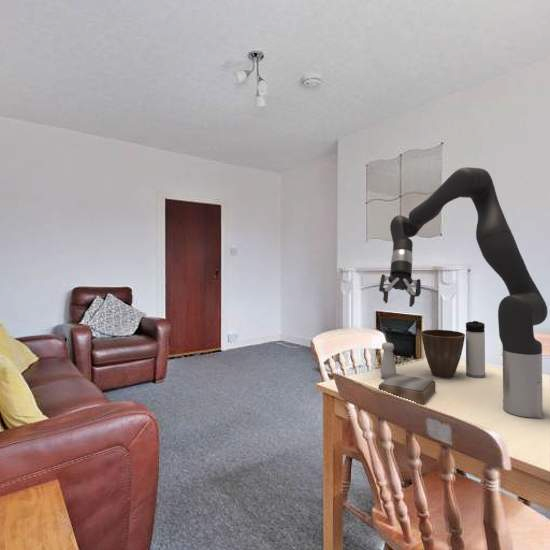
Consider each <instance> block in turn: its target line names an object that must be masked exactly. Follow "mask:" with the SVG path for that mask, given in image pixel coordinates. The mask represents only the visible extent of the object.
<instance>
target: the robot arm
mask: <svg viewBox="0 0 550 550" xmlns="http://www.w3.org/2000/svg"><path fill="white" fill-rule="evenodd" d="M459 198H465V199H466V198H468V199H469V198H470V199H471V201H472V203H473V205H474V207H475V210H476V212H477V222H476V223H477V224H476V230H475V238H476V242H477V244H478V248H479V250H480V252H481V255H482V256H483V259H484V260H485V262H486V264H488V265H489V266H490V268H491V269H492V270H493V271H494V272H495V273H496V274H497V275H498V276H499V277H500V279H501V280H502V281H503V282H504V284H505V286H506V288H507V291H508V293H509V295H507V296H505V297H503V298H502V299H501V301H500V302H499V304H498V309H497V319H498V320H497V321H498V335H499V339H500V341H501V345H502V409H503V410H504V411H505V412H507V413H508V414H511V415H514V416H519V417H522V418H524V417H525V418H538V419H543V412H544V411H543V410H544V409H543V344H542V342H541V341H539V340H537V338H535V334H534V327H535V326H537V325H541V324H542V323H544V322H545V320H546V319H547V317H548V305H547V303H546V301H545V299H544V297H543V296H542V294H541V292H540V290H539V289H538V287H537V285H536V284H535V281H534V280H533V279H532V276H531V275H530V273H529V271H528V267H527V266H526V263H525V261H524V258H523V256H522V254H521V252H520V250H519V247H518V244H517V242H516V239H515V237H514V234H513V232H512V230H511V229H510V226H509V224H508V222H507V220H506V219H507V218H506V216H505V213H504V212H503V210H502V207H501V204H500V201H499V199H498V195H497V192H496V188H495V185H494V180H493V178H492V176H491V174H490V172H488V171H487V170H486V169H484V168H480V167H461V168H458V169H456V170H455V171H454V172H453V173H452V174H451V175H450V176H449V177H448V178H447V179H445V181H444V182H443V183H442V184H441V185H440V186H439V187H438V188H437V189H436V190H435V191H434V192H433V193H432V194H431V195H430V196H429V197H428V198H427V199H425V200H423V202H421V203H419V204H418V205H417V206H416V207H414V208H413V209H411V211H410V212H409V213H408V217H406V216H404V215H401V214H400V215H396V216H394V217H393V218H392V219H391V222H390V225H389V226H390V227H389V230H390V235H391V239H392V243H393V246H392V253H391V254H392V255H391V260H390V270H389V271H390V272H389V276H387V275H385V274H381V276H380V282H379V286H378V287H379V288H378V291H379V292H380V293H381V292H382V293H383V298H382V301H383V302H384V303H385V304H388V299H389V292H390V291H391V290H392V289H394V290H401V291H405V293H407V294H408V295H409V304H408V305H409V307H410V308H411V307H413V306H414V304H415V301H416V297H417V298H418V297H420V295H421V293H422V291H421V290H422V287H421V283H422V282H421V280H422V279H420V278H418V279H413V277H412V275H413V274H412V272H413V270H412V269H413V248H414V247H413V246H414V244H413V241H412V239H411V238H413V237H415V236H417V234H418V233H419V231H420V230H421V229H422V228H423V227H424V226H425V225H426V224H427V223H429V222H430V221H432V220H433V219H435V218H436V217H438V215H439V214H440V213H441V212H442V210H443V208H444V206H445V205H447V204H448V203H450V202H452V201H454V200H456V199H459ZM387 281H388V282H389V284H388V286H386V287H384V285H385V282H387ZM412 284H413V286H415V290H414V289H413V287H412V286H411V285H412Z"/></svg>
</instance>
